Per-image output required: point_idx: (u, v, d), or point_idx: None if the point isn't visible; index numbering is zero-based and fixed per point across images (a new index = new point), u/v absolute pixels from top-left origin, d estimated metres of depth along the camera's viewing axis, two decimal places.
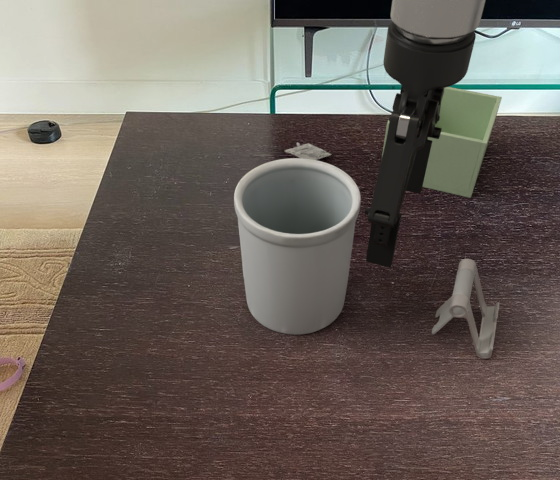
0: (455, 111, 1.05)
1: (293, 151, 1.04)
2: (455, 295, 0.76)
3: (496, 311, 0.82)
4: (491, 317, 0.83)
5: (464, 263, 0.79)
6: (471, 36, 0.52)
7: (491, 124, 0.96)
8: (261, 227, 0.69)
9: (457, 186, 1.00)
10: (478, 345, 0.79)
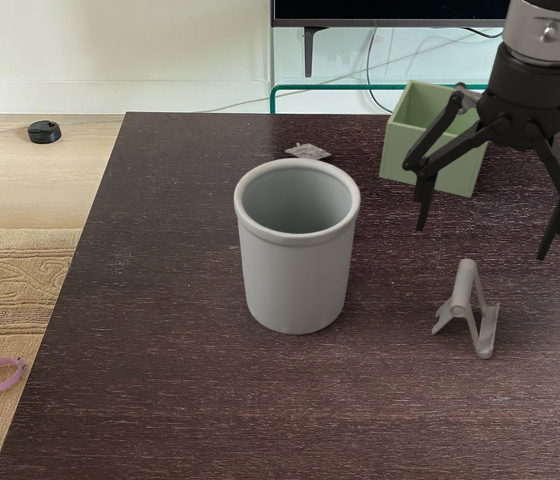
0: None
1: (293, 151, 1.04)
2: (455, 295, 0.76)
3: (496, 311, 0.82)
4: (491, 317, 0.83)
5: (464, 263, 0.79)
6: None
7: None
8: (261, 227, 0.69)
9: (457, 186, 1.00)
10: (478, 345, 0.79)
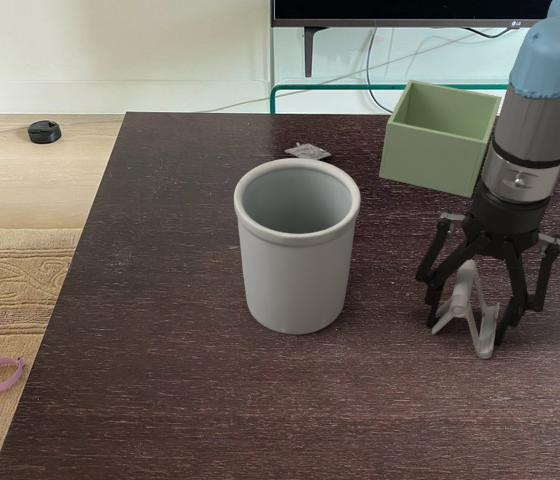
0: (455, 111, 1.05)
1: (293, 151, 1.04)
2: (455, 295, 0.76)
3: (496, 311, 0.82)
4: (491, 317, 0.83)
5: (464, 263, 0.79)
6: None
7: (491, 124, 0.96)
8: (261, 227, 0.69)
9: (457, 186, 1.00)
10: (478, 345, 0.79)
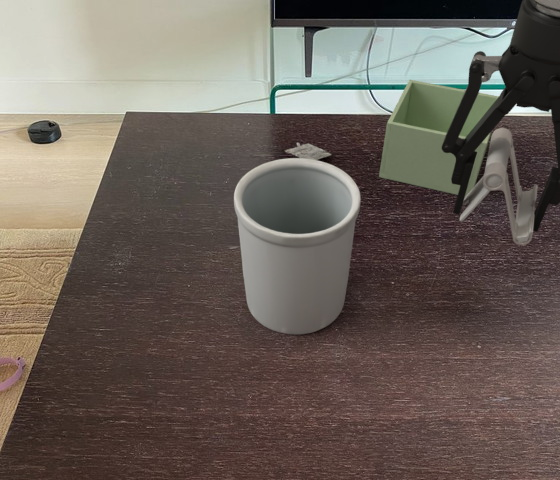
0: (455, 111, 1.05)
1: (293, 151, 1.04)
2: (490, 164, 0.64)
3: (534, 193, 0.71)
4: (528, 201, 0.71)
5: (498, 132, 0.68)
6: None
7: None
8: (261, 227, 0.69)
9: (457, 186, 1.00)
10: (515, 229, 0.68)
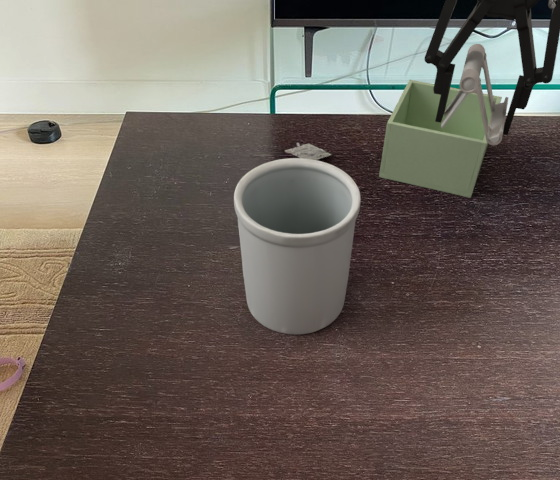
0: (455, 111, 1.05)
1: (293, 151, 1.04)
2: (465, 70, 0.75)
3: (505, 103, 0.82)
4: (500, 111, 0.82)
5: (473, 47, 0.79)
6: None
7: None
8: (261, 227, 0.69)
9: (457, 186, 1.00)
10: (488, 130, 0.79)
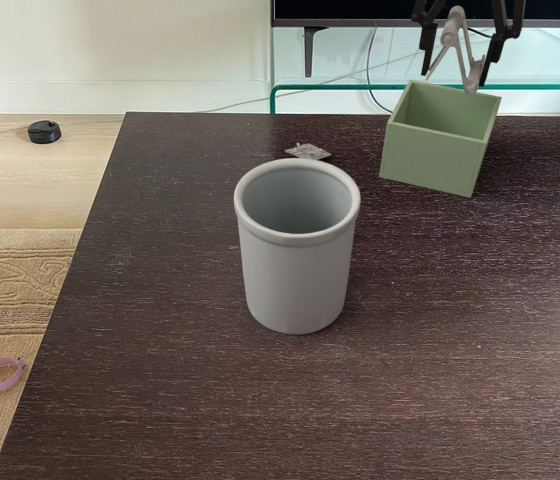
0: (455, 111, 1.05)
1: (293, 151, 1.04)
2: (445, 27, 0.87)
3: (482, 59, 0.93)
4: (478, 66, 0.94)
5: (454, 8, 0.90)
6: None
7: (491, 124, 0.96)
8: (261, 227, 0.69)
9: (457, 186, 1.00)
10: (466, 81, 0.91)
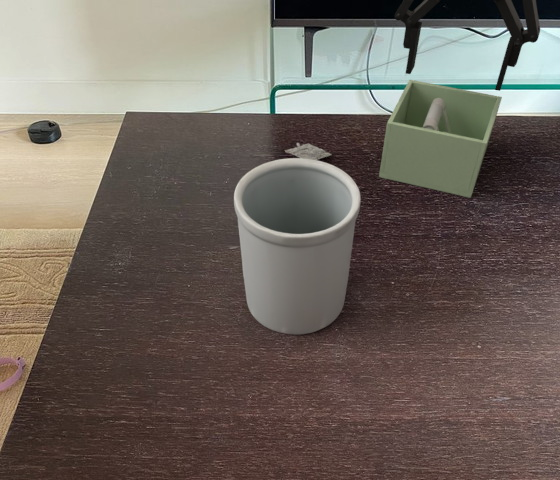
0: (455, 111, 1.05)
1: (293, 151, 1.04)
2: (426, 120, 0.98)
3: None
4: None
5: (435, 100, 1.01)
6: None
7: (491, 124, 0.96)
8: (261, 227, 0.69)
9: (457, 186, 1.00)
10: None
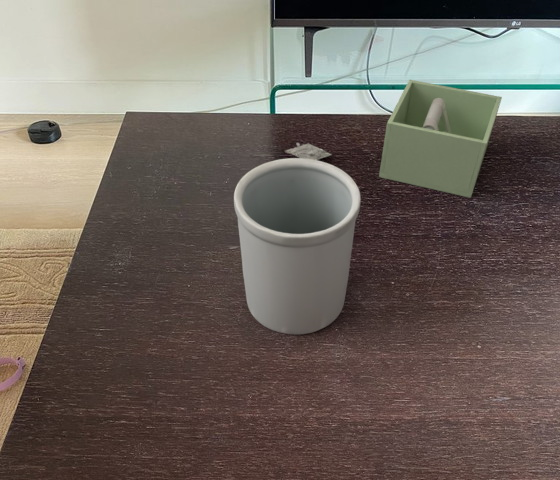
0: (455, 111, 1.05)
1: (293, 151, 1.04)
2: (426, 120, 0.98)
3: None
4: None
5: (435, 100, 1.01)
6: None
7: (491, 124, 0.96)
8: (261, 227, 0.69)
9: (457, 186, 1.00)
10: None
